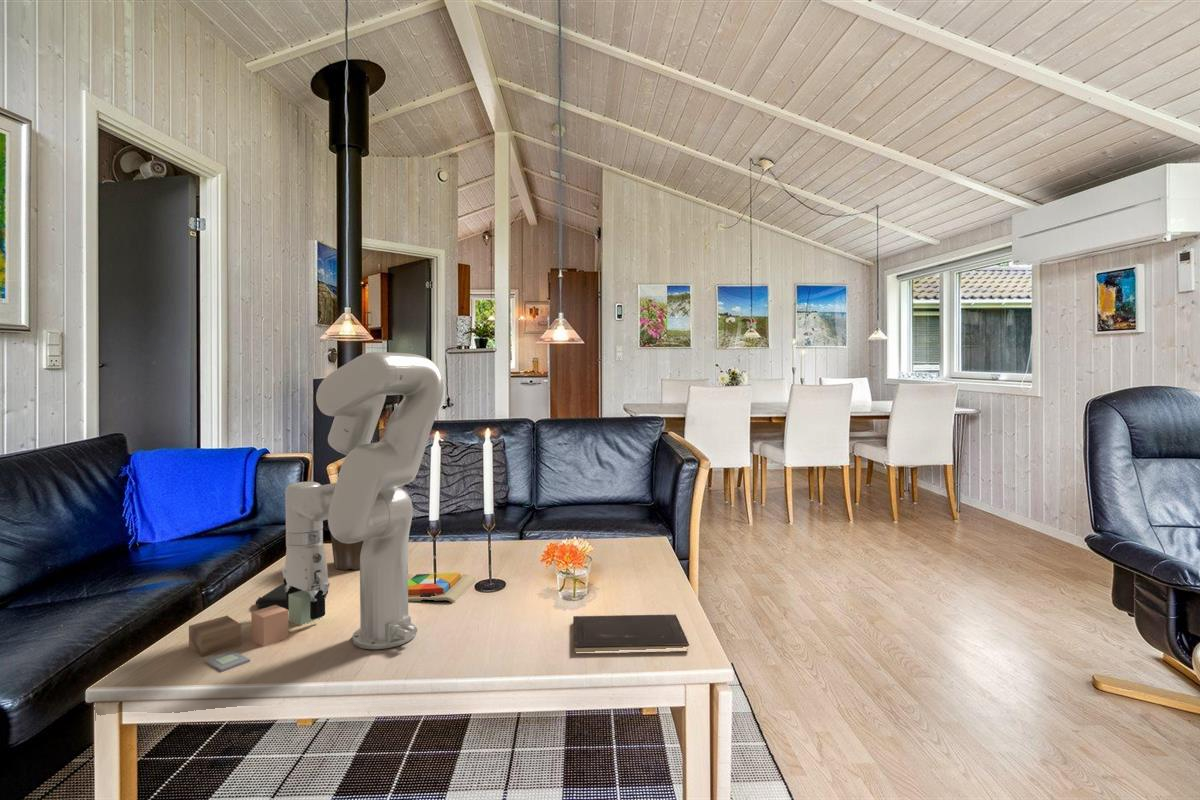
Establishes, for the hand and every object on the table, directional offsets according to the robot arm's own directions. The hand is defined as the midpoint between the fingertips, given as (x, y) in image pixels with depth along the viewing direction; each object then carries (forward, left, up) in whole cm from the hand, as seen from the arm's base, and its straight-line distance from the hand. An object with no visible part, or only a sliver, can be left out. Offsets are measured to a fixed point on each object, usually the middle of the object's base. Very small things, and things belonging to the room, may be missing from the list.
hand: (305, 612), depth 137 cm
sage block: (0, 0, -2) cm, 2 cm away
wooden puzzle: (-8, -29, -2) cm, 30 cm away
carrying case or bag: (+16, -4, -2) cm, 16 cm away
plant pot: (+27, -31, -2) cm, 41 cm away
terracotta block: (-4, +10, -2) cm, 11 cm away
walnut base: (+2, +18, -2) cm, 18 cm away
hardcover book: (-65, -33, -2) cm, 73 cm away
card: (-8, +20, -1) cm, 21 cm away
